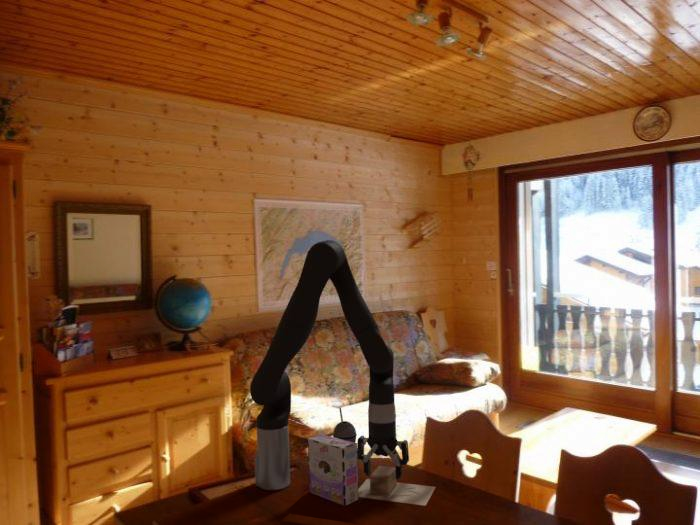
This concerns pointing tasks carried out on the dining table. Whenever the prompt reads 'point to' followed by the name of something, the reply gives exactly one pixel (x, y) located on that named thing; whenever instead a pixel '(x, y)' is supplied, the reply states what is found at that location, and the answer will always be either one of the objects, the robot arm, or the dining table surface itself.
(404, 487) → the board
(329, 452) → the candy box
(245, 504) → the dining table surface
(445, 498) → the dining table surface
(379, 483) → the block
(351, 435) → the beverage cup
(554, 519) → the dining table surface
